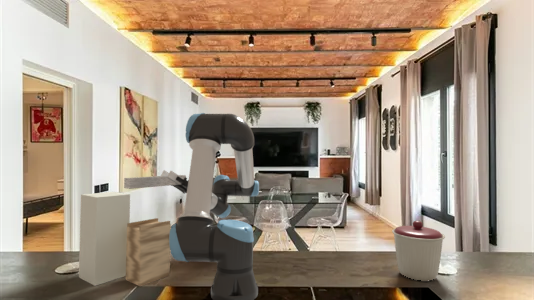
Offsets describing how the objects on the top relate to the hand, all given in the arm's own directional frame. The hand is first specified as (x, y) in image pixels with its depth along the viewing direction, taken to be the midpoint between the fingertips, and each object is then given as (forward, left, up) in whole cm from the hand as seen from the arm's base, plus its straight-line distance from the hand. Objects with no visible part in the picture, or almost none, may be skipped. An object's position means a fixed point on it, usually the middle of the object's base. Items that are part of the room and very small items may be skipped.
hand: (166, 173), depth 119 cm
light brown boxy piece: (0, +7, -38) cm, 38 cm away
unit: (+14, +16, -38) cm, 43 cm away
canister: (-79, -56, -38) cm, 104 cm away
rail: (0, +4, -4) cm, 6 cm away
